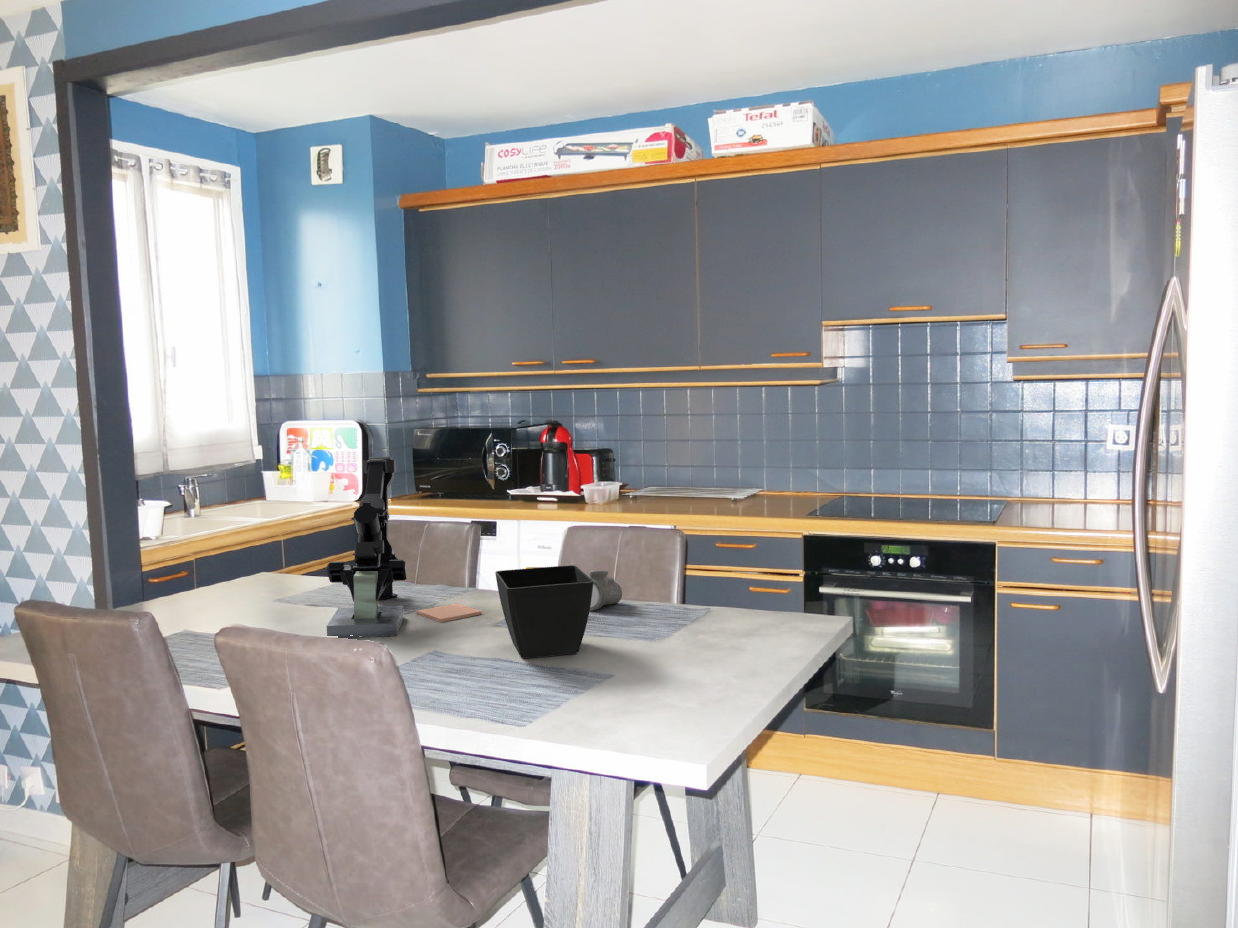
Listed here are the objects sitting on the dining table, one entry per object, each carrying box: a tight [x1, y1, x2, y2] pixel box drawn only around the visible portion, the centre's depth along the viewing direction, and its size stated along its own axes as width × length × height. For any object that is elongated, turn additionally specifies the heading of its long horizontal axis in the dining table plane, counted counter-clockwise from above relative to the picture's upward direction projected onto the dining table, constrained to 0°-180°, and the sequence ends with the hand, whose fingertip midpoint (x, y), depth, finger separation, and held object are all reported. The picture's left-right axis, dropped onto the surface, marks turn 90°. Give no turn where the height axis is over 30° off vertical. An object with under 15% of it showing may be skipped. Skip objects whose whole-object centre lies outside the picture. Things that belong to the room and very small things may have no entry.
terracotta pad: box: [415, 603, 482, 623], centre depth 250 cm, size 12×12×1 cm
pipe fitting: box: [588, 569, 623, 612], centre depth 257 cm, size 12×8×10 cm, turn 142°
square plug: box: [353, 571, 379, 619], centre depth 237 cm, size 5×5×13 cm
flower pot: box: [495, 564, 593, 659], centre depth 216 cm, size 19×19×17 cm
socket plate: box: [326, 605, 404, 639], centre depth 237 cm, size 18×16×3 cm
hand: (365, 600), depth 235 cm, fingers closed on square plug, 5 cm apart
